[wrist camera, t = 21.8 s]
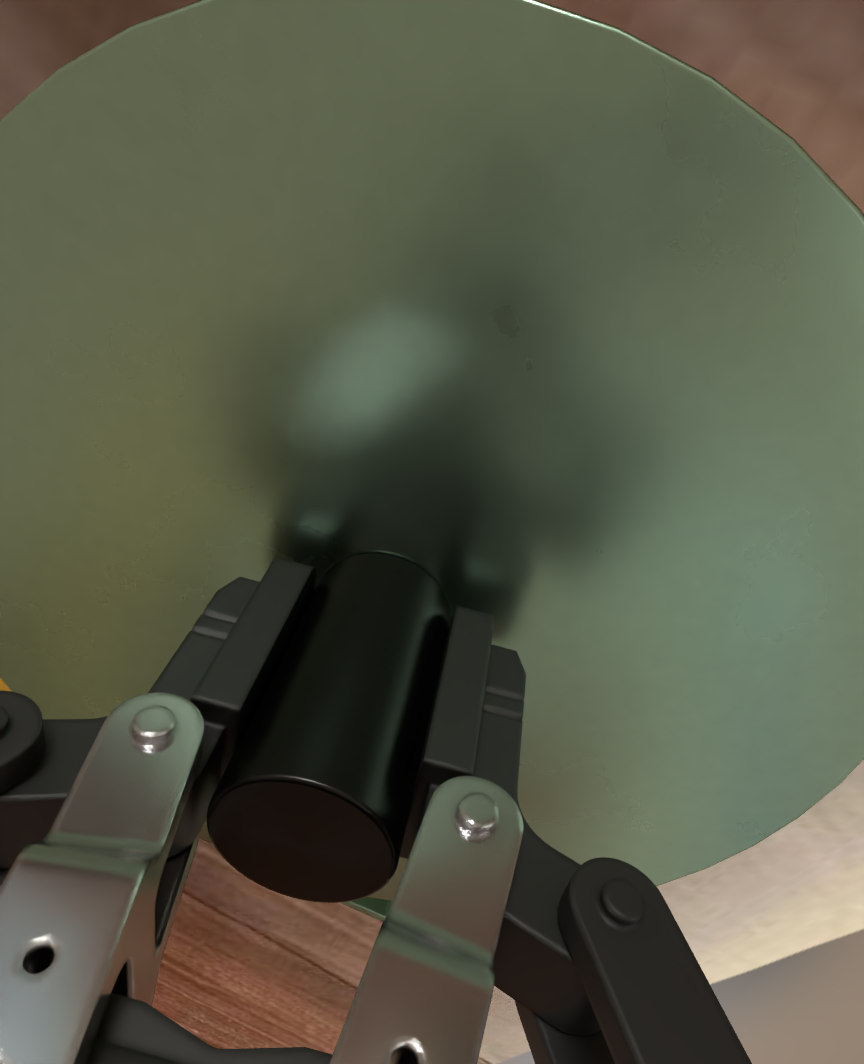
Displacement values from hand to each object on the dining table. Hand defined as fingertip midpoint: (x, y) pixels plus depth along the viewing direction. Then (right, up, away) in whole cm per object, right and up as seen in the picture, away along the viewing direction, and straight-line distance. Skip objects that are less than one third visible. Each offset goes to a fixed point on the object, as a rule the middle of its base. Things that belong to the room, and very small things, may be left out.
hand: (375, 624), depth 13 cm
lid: (0, +1, +1) cm, 1 cm away
